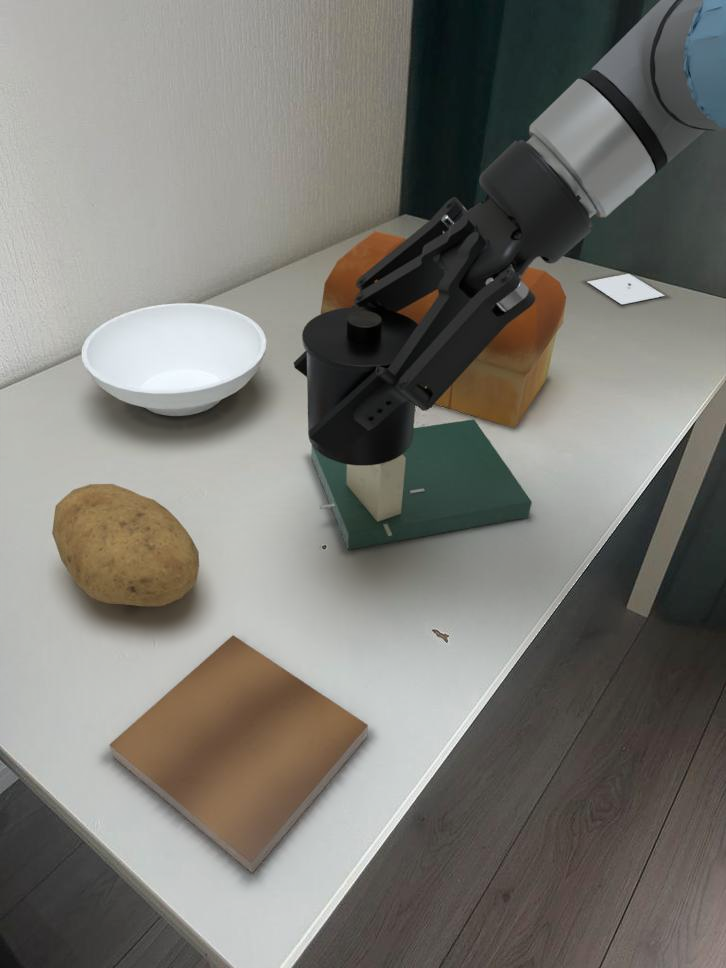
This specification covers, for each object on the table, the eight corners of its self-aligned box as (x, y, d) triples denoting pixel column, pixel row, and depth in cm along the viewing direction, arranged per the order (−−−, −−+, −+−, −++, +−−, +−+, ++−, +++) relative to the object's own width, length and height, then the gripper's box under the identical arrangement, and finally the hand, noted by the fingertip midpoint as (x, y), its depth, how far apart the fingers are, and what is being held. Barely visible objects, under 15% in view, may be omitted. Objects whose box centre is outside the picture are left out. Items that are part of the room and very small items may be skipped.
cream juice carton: (401, 513, 71) (406, 455, 66) (377, 522, 70) (381, 463, 65) (368, 477, 75) (371, 419, 70) (346, 484, 74) (347, 426, 69)
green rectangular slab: (533, 524, 73) (537, 507, 72) (334, 561, 68) (334, 544, 67) (471, 434, 84) (474, 417, 83) (296, 460, 80) (295, 443, 78)
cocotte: (439, 445, 58) (452, 329, 52) (343, 482, 55) (345, 362, 48) (375, 392, 64) (380, 282, 58) (284, 423, 60) (279, 308, 54)
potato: (144, 663, 59) (128, 593, 54) (37, 577, 66) (13, 506, 61) (236, 592, 65) (229, 522, 60) (130, 519, 72) (115, 450, 67)
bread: (320, 369, 93) (320, 252, 84) (367, 327, 102) (372, 216, 93) (517, 431, 85) (542, 308, 76) (550, 379, 94) (576, 263, 84)
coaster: (586, 281, 115) (587, 276, 115) (628, 273, 118) (630, 268, 118) (621, 304, 110) (623, 299, 109) (665, 295, 113) (666, 290, 112)
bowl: (184, 337, 98) (178, 287, 94) (303, 390, 90) (303, 337, 85) (55, 404, 86) (41, 350, 81) (180, 472, 77) (172, 416, 73)
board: (367, 736, 55) (368, 724, 54) (252, 873, 48) (251, 862, 47) (234, 647, 61) (232, 634, 60) (112, 756, 53) (108, 744, 52)
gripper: (667, 289, 43) (375, 528, 51) (534, 168, 60) (328, 363, 67) (599, 196, 39) (292, 471, 47) (477, 94, 55) (264, 310, 63)
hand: (314, 407), depth 57 cm, fingers closed on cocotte, 9 cm apart
